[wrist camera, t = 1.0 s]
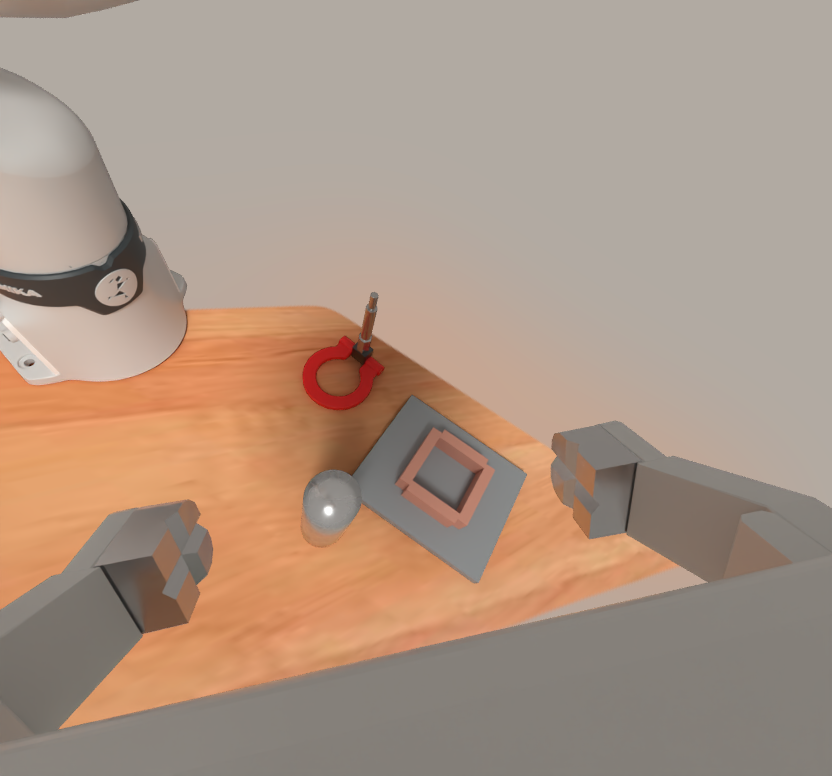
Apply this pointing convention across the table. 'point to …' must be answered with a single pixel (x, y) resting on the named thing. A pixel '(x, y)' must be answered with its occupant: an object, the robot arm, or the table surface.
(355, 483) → the brushed steel cylinder
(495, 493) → the keeper
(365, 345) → the tow hook
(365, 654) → the table surface
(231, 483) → the table surface
